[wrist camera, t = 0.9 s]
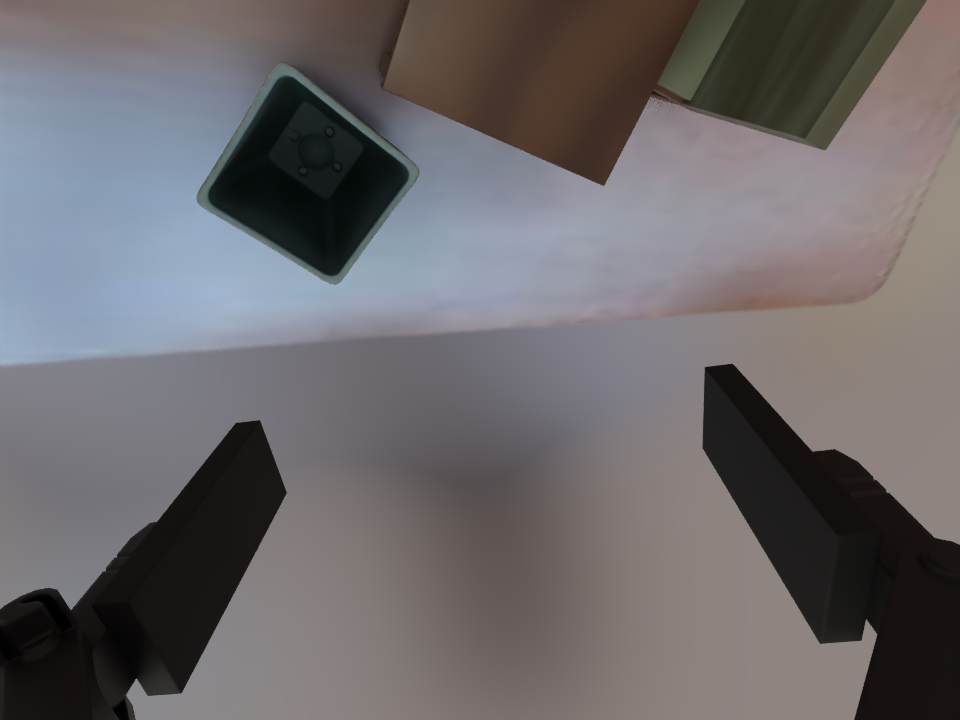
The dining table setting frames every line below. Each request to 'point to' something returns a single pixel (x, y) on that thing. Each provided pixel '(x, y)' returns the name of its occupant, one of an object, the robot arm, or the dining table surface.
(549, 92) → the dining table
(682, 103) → the sage chair
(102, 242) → the dining table surface
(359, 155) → the flower pot
